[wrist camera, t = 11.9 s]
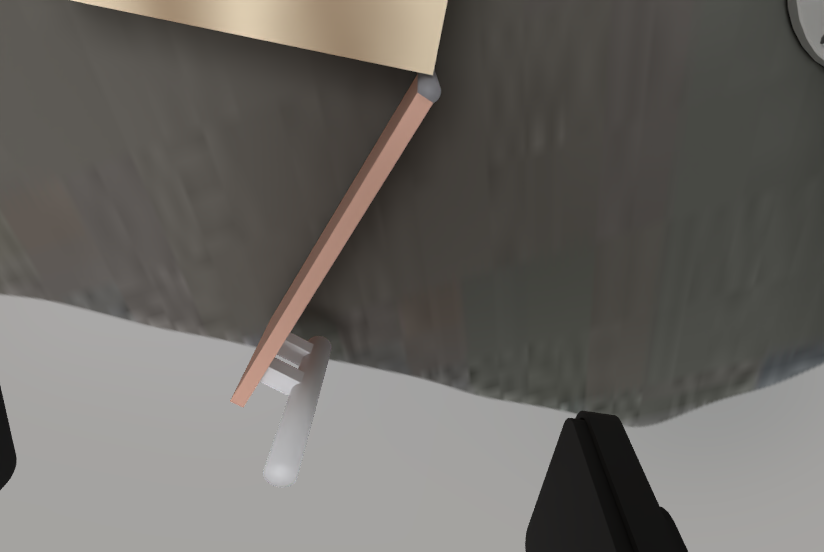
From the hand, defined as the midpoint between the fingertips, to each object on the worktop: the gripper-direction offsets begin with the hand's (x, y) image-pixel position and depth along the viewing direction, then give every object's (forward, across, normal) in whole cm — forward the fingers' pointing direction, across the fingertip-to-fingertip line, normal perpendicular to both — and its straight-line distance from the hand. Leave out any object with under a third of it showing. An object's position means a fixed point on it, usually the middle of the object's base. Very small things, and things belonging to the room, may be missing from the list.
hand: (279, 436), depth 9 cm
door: (+27, +1, +6) cm, 27 cm away
